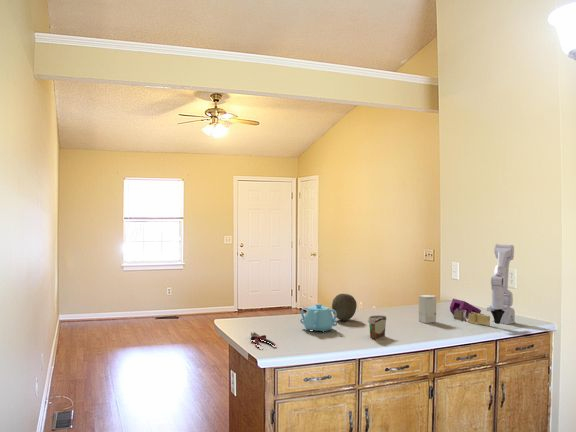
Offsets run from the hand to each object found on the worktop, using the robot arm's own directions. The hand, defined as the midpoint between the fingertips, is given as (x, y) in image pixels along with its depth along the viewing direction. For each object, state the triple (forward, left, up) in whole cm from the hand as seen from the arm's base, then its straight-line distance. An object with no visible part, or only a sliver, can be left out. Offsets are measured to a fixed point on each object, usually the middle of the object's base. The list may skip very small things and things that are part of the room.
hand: (497, 323), depth 262 cm
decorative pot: (+51, +83, -3) cm, 97 cm away
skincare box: (+31, +20, -3) cm, 37 cm away
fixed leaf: (+23, 0, -2) cm, 23 cm away
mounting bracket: (+30, -16, -3) cm, 34 cm away
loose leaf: (+11, 0, -2) cm, 11 cm away
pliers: (+47, +121, -3) cm, 130 cm away
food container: (+24, +69, -3) cm, 73 cm away
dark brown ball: (+60, +57, -3) cm, 82 cm away
